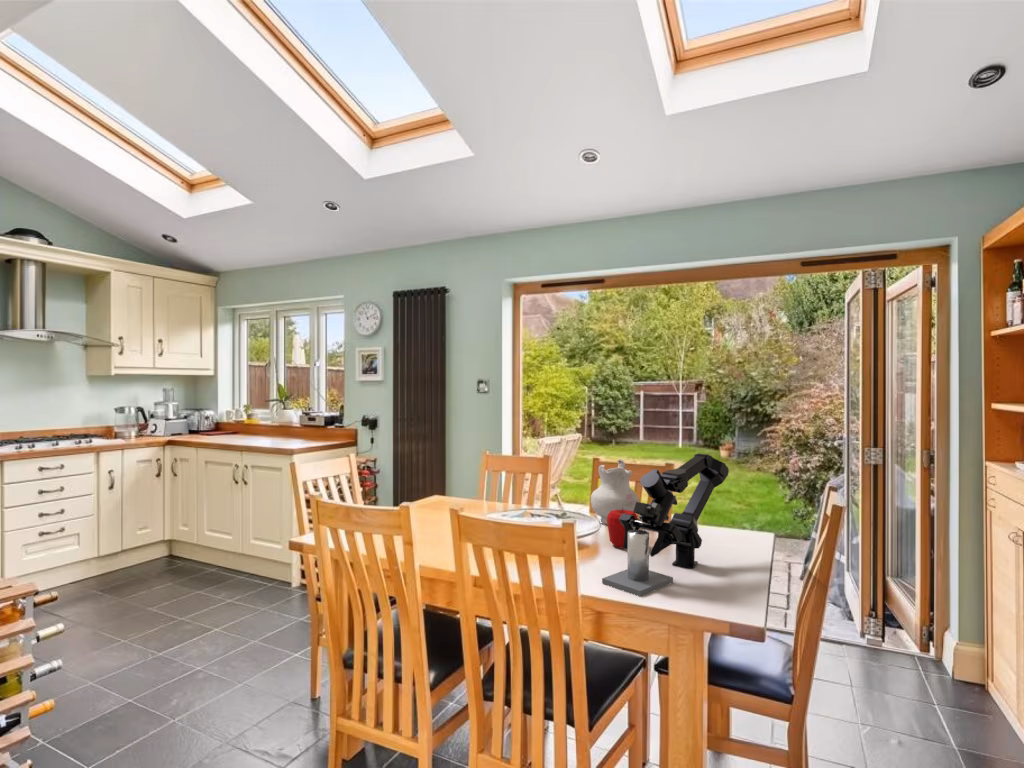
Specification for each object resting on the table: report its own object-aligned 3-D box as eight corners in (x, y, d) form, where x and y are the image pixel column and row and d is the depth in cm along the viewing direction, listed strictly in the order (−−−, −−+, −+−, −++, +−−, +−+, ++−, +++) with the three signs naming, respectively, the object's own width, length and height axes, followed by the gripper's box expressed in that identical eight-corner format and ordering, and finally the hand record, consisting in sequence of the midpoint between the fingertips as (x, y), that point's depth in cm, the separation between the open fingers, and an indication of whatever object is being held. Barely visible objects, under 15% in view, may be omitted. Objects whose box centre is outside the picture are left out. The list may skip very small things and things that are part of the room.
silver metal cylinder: (641, 573, 166) (642, 528, 166) (652, 580, 161) (653, 533, 160) (623, 575, 164) (623, 530, 164) (634, 582, 159) (634, 535, 159)
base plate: (635, 571, 173) (635, 566, 173) (673, 582, 163) (673, 577, 163) (602, 583, 162) (602, 578, 162) (640, 596, 152) (640, 591, 152)
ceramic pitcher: (596, 516, 247) (591, 459, 247) (641, 515, 241) (637, 457, 242) (589, 529, 226) (585, 466, 226) (639, 528, 221) (634, 465, 221)
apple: (635, 542, 203) (635, 504, 203) (639, 551, 193) (639, 511, 193) (605, 541, 204) (606, 503, 204) (607, 550, 194) (608, 510, 194)
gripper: (622, 486, 173) (599, 529, 165) (676, 496, 159) (653, 543, 151) (637, 508, 178) (616, 550, 171) (691, 519, 164) (670, 566, 157)
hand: (637, 552), depth 162 cm, fingers open, 9 cm apart
